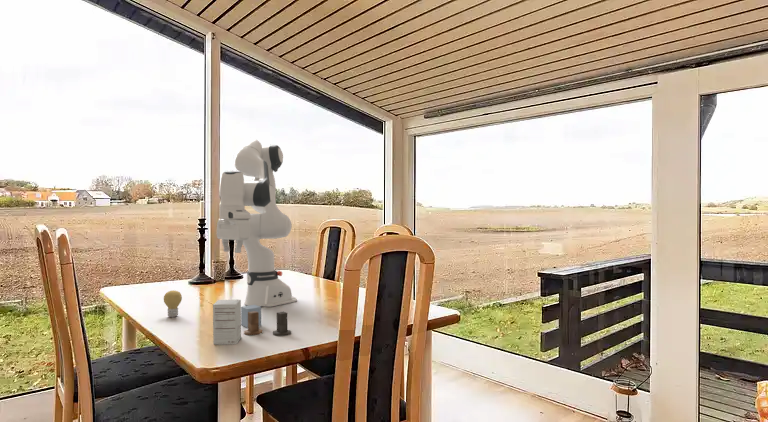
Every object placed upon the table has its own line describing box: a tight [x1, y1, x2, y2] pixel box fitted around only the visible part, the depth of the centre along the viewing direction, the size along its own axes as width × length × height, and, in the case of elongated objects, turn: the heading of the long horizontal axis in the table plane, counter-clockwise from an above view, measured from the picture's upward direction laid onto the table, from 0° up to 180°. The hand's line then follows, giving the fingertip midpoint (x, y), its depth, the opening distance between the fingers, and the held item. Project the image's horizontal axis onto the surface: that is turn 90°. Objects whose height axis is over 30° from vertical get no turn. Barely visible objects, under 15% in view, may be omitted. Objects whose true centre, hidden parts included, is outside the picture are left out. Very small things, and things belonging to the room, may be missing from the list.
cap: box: [241, 305, 262, 329], centre depth 176 cm, size 5×5×7 cm
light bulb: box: [163, 289, 183, 318], centre depth 189 cm, size 6×6×10 cm
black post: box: [272, 311, 292, 337], centre depth 165 cm, size 6×6×7 cm
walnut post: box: [243, 311, 263, 336], centre depth 166 cm, size 6×6×7 cm
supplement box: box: [212, 299, 242, 345], centre depth 156 cm, size 7×7×13 cm
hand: (232, 252), depth 179 cm, fingers open, 8 cm apart
